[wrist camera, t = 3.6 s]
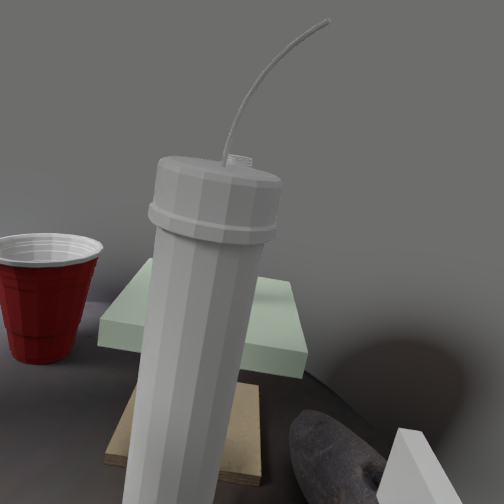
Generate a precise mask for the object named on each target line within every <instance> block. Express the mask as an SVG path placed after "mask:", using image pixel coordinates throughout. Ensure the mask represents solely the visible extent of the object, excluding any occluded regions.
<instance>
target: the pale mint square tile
mask: <svg viewBox="0 0 504 504" xmlns="http://www.w3.org/2000/svg"><path fill="white" fill-rule="evenodd" d="M152 262H153V258H149V259H148V261H147V262H146V263H145V264H144V265H143V267H142V268H141V269H140V270H139V272H138V273H137V274H136V275H135V276H134V278H133V279H132V280H131V281H130V283H129V284H128V285H127V287H125V289H124V290H123V291H122V292H121V294H120V295H119V296H118V298H116V300H115V301H114V302H113V303H112V304H111V306H110V307H109V308H108V309H107V311H106V312H105V313H104V314H103V315H102V317H101V318H100V322H99V333H98V344H97V346H102V347H108V348H114V349H121V350H127V351H133V352H139V353H141V350H142V342H143V334H144V326H145V318H146V310H147V302H148V294H149V286H150V278H151V270H152ZM307 356H308V351H307V347H306V343H305V339H304V335H303V331H302V328H301V324H300V320H299V316H298V312H297V309H296V305H295V301H294V297H293V293H292V290H291V286H290V282H285V281H280V280H274V279H269V278H263V277H258V278H257V284H256V289H255V294H254V299H253V304H252V309H251V314H250V319H249V324H248V329H247V334H246V339H245V344H244V349H243V354H242V359H241V364H240V369H244V370H251V371H257V372H263V373H269V374H275V375H282V376H288V377H294V378H300V379H302V376H303V372H304V368H305V364H306V360H307Z"/></svg>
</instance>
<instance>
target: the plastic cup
mask: <svg viewBox="0 0 504 504" xmlns="http://www.w3.org/2000/svg"><path fill="white" fill-rule="evenodd" d="M102 251H103V246H102V245H101V243H100V242H98V241H96V240H94V239H91V238H88V237H83V236H77V235H70V234H55V233H40V234H23V235H14V236H8V237H4V238H0V305H1V310H2V315H3V320H4V325H5V327H6V329H7V335H8V341H9V347H10V350H11V352H12V355H13V356H14V357H15V358H16V359H17V360H19V361H21V362H24V363H29V364H46V363H52V362H55V361H58V360H61V359H63V358H64V357H66V356H67V355H68V354H69V352H70V351H71V348H72V346H73V344H74V341H75V337H76V333H77V329H78V325H79V323H80V321H81V317H82V313H83V309H84V306H85V302H86V297H87V294H88V290H89V286H90V282H91V278H92V276H93V273H94V268H95V266H96V262H97V259H98V256H99V255H100V254H101V252H102Z"/></svg>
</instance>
